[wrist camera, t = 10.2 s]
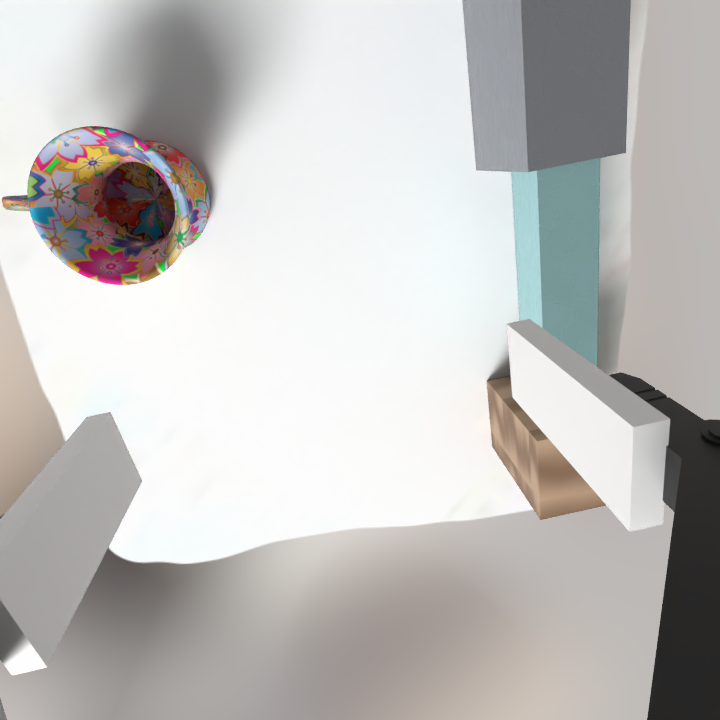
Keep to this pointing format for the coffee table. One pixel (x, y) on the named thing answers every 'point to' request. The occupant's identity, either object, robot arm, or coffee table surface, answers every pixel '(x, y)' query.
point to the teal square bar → (559, 251)
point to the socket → (535, 458)
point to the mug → (114, 203)
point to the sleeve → (547, 81)
